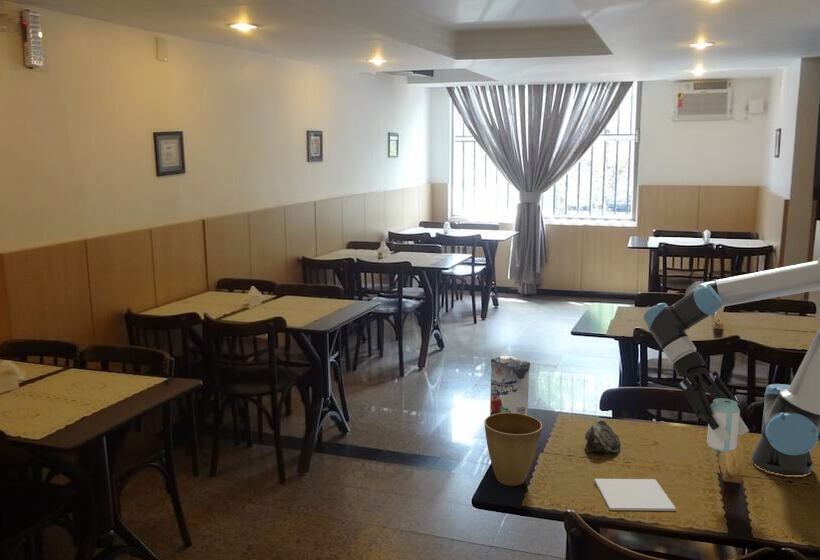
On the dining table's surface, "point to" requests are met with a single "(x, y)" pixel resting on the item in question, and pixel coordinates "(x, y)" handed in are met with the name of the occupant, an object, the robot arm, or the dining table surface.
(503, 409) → the juice carton
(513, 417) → the plant pot
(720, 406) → the can
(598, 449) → the fossil
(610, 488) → the white mat
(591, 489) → the dining table surface
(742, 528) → the dining table surface
